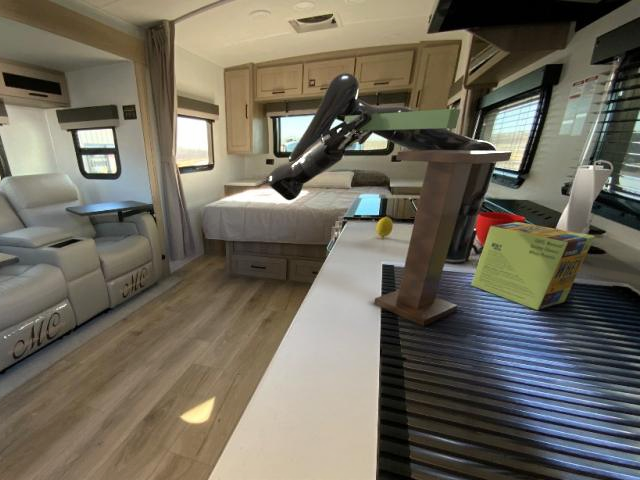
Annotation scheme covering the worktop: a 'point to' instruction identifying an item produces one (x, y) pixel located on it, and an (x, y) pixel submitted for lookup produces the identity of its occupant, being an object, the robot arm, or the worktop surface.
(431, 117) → the sage bar
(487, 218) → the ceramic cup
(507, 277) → the protein box
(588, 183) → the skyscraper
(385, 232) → the lemon
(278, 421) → the worktop surface
